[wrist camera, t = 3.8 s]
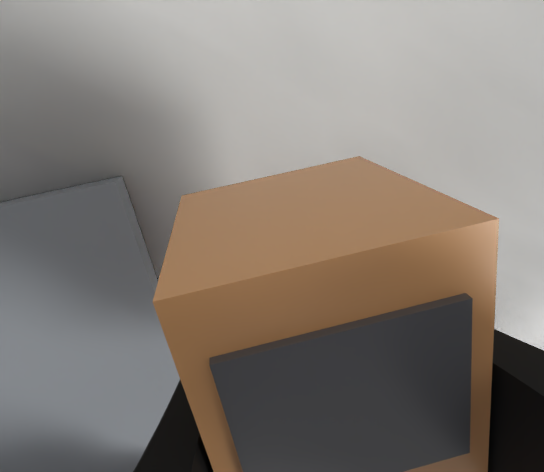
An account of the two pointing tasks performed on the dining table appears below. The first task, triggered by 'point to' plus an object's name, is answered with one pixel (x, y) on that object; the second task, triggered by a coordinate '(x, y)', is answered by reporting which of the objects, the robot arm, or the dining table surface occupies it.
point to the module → (333, 322)
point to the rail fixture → (78, 333)
